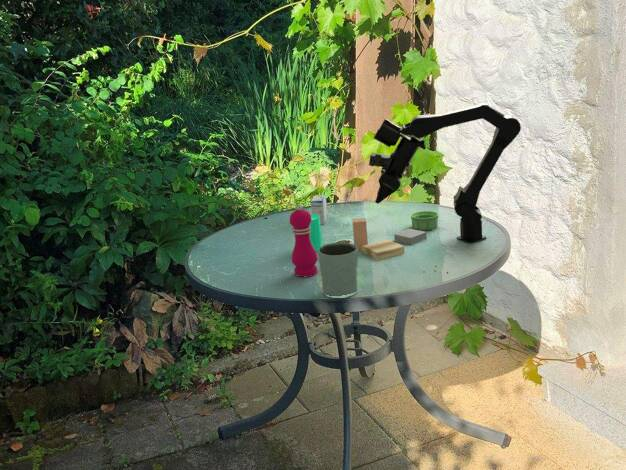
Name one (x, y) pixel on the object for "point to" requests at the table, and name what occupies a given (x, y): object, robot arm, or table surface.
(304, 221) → the pepper mill
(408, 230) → the slate block
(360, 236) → the terracotta block
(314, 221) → the candle
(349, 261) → the plant pot
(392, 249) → the oak block
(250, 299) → the table surface
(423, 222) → the ramekin
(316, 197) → the medicine box
